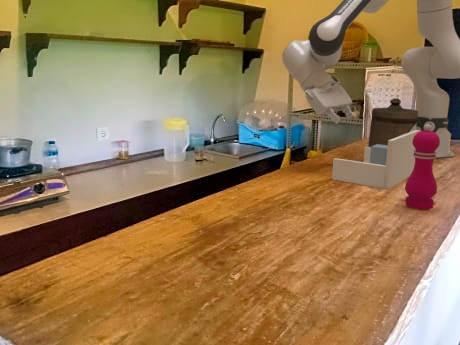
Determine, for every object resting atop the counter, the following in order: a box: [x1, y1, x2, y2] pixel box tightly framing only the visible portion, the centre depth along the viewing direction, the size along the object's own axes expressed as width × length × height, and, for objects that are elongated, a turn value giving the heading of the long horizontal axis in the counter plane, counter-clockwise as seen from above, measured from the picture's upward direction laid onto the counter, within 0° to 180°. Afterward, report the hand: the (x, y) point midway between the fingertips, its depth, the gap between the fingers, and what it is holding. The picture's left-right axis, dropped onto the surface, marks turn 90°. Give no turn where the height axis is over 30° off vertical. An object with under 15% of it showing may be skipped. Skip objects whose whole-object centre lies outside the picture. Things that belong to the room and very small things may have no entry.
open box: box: [331, 130, 420, 190], centre depth 140 cm, size 24×16×14 cm, turn 143°
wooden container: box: [367, 97, 418, 147], centre depth 161 cm, size 15×15×22 cm
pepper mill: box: [404, 124, 440, 211], centre depth 114 cm, size 7×7×20 cm
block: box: [370, 144, 388, 165], centre depth 139 cm, size 5×5×9 cm
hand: (346, 120), depth 144 cm, fingers open, 8 cm apart
